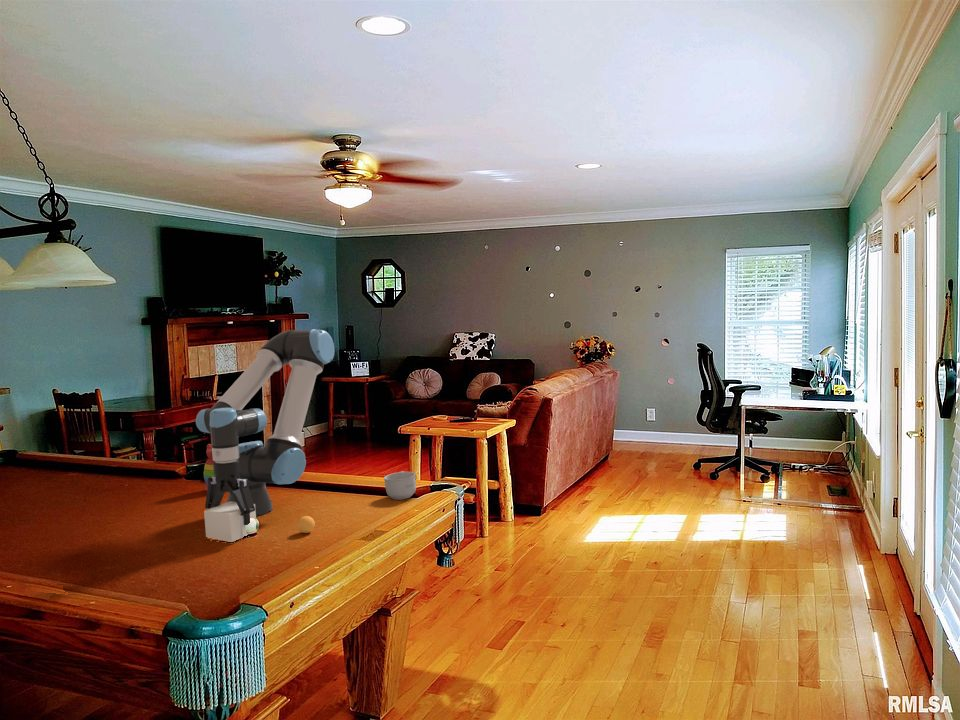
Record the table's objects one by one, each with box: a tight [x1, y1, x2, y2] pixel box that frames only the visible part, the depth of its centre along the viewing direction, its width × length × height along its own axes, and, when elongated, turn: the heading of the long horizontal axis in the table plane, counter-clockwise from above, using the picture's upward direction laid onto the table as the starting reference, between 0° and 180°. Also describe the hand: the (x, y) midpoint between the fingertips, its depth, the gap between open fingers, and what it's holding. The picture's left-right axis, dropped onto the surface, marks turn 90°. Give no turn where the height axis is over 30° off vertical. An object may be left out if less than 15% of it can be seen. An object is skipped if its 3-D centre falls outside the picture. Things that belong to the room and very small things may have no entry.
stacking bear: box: [203, 443, 218, 491], centre depth 277 cm, size 11×10×18 cm
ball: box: [297, 515, 316, 534], centre depth 220 cm, size 5×5×5 cm
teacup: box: [383, 470, 417, 501], centre depth 257 cm, size 14×11×8 cm
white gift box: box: [203, 501, 257, 542], centre depth 220 cm, size 10×10×9 cm
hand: (231, 533), depth 220 cm, fingers closed on white gift box, 10 cm apart
